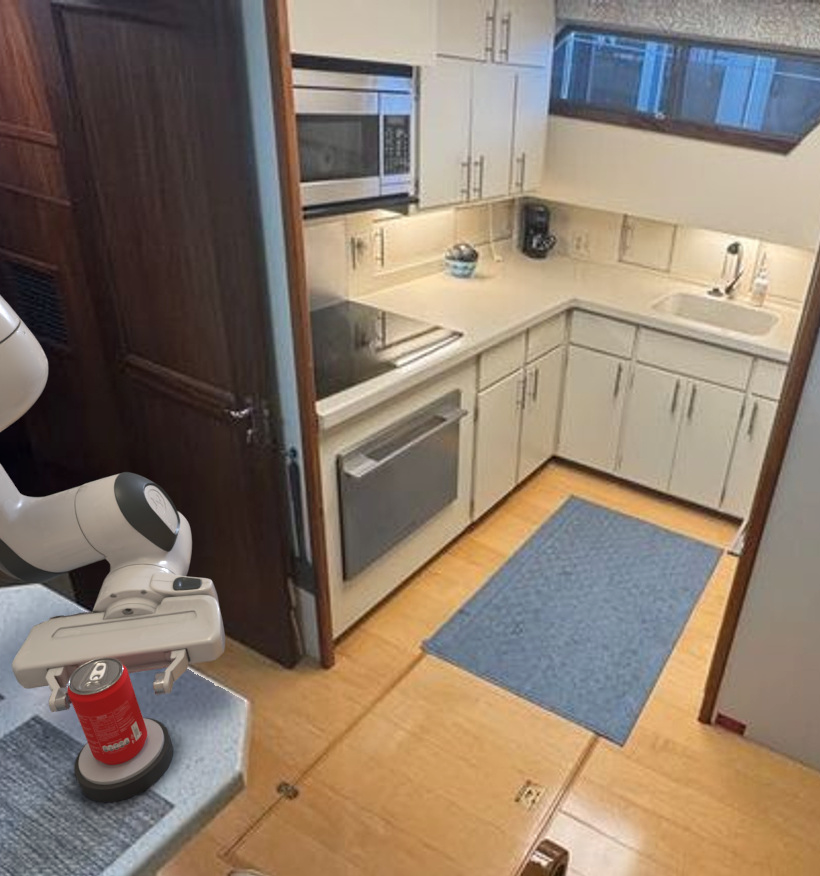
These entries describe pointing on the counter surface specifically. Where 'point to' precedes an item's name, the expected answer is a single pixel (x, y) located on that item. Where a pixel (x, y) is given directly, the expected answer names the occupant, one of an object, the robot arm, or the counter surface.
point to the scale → (126, 768)
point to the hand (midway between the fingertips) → (111, 698)
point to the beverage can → (108, 710)
